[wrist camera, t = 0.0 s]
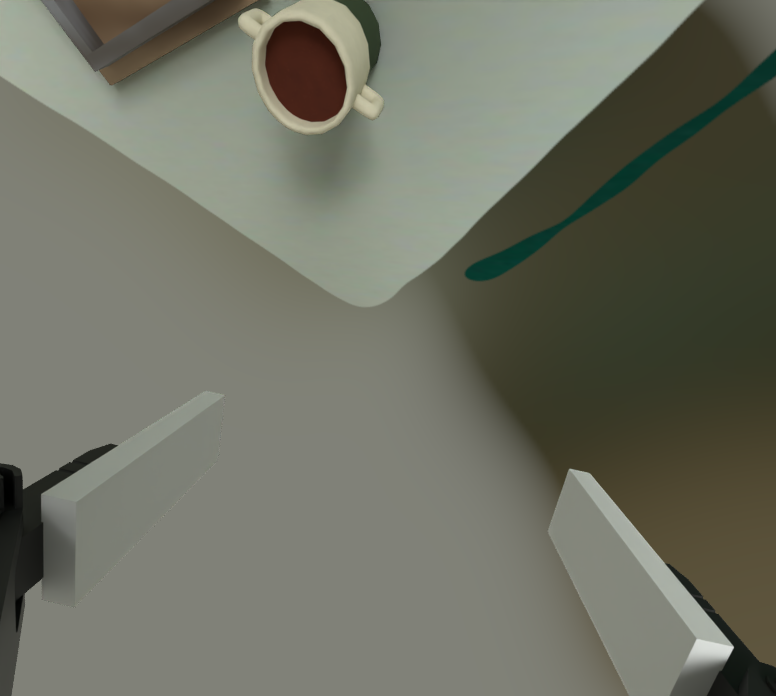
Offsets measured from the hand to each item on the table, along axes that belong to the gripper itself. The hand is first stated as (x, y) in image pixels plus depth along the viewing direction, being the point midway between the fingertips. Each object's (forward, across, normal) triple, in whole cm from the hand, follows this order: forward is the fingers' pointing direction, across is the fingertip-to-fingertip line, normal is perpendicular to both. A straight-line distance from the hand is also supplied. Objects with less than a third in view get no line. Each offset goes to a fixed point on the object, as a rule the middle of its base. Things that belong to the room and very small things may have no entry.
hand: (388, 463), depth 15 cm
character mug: (+26, -10, +25) cm, 38 cm away
